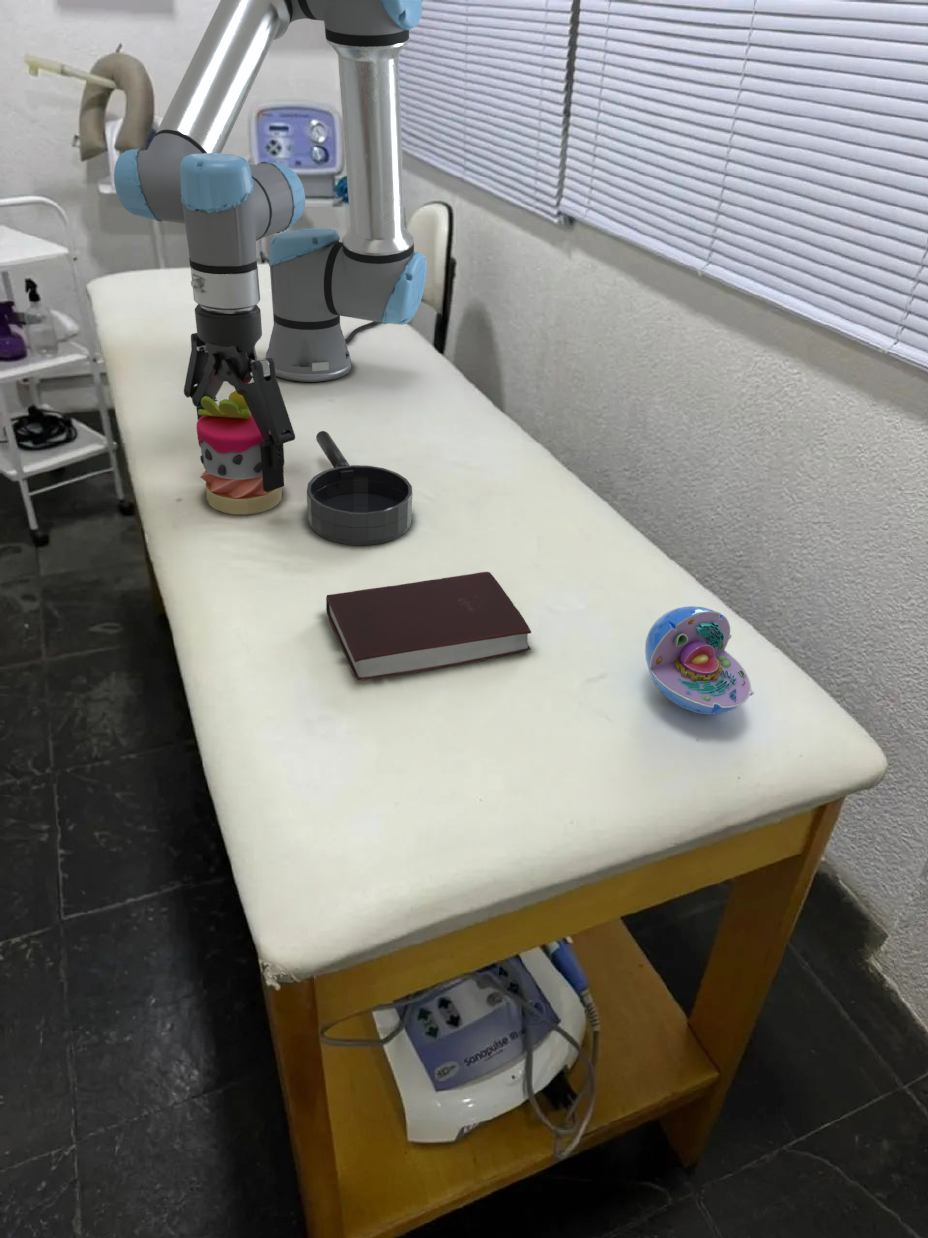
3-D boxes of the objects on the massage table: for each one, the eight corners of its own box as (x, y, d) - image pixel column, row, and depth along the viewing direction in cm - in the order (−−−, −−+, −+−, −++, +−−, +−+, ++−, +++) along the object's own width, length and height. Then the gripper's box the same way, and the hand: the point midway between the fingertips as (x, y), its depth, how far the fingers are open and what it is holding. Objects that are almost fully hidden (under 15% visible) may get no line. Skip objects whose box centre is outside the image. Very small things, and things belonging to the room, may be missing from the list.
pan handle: (354, 480, 115) (354, 467, 114) (340, 482, 114) (339, 468, 113) (328, 440, 124) (327, 428, 123) (314, 442, 124) (314, 429, 123)
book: (325, 614, 94) (324, 589, 92) (487, 589, 100) (489, 565, 98) (354, 685, 85) (354, 660, 83) (530, 653, 91) (534, 628, 89)
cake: (216, 476, 119) (204, 371, 110) (291, 481, 119) (285, 377, 110) (194, 512, 110) (179, 401, 101) (276, 518, 110) (268, 408, 101)
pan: (425, 536, 109) (427, 505, 106) (323, 552, 104) (322, 520, 102) (392, 489, 119) (392, 460, 116) (297, 502, 114) (295, 471, 112)
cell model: (685, 748, 81) (709, 669, 75) (616, 672, 89) (633, 596, 84) (766, 723, 84) (795, 646, 79) (693, 652, 93) (714, 579, 87)
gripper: (141, 284, 104) (164, 445, 116) (265, 338, 91) (277, 513, 103) (194, 276, 108) (212, 432, 121) (320, 326, 95) (325, 495, 108)
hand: (242, 470), depth 112 cm, fingers open, 13 cm apart
